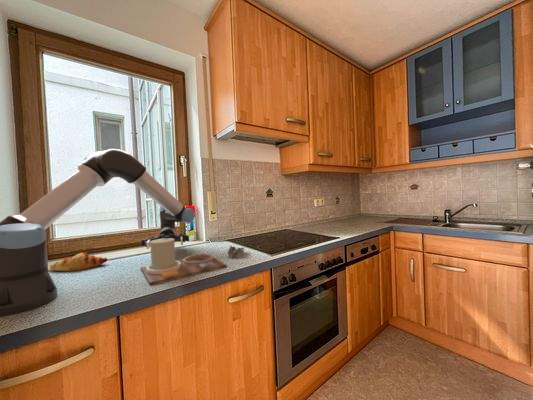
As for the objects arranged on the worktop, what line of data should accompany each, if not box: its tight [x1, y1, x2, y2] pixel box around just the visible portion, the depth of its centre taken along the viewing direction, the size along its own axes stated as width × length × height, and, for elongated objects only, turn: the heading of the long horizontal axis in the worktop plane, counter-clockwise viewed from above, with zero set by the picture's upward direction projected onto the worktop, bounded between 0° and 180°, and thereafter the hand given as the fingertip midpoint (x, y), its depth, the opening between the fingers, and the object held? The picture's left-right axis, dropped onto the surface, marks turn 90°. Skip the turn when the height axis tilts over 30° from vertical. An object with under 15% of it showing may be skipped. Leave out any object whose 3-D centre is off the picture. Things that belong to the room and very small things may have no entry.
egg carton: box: [226, 245, 245, 259], centre depth 114 cm, size 11×8×4 cm
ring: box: [146, 259, 181, 278], centre depth 92 cm, size 13×18×2 cm
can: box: [149, 238, 176, 270], centre depth 94 cm, size 9×9×12 cm
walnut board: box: [140, 253, 227, 286], centre depth 97 cm, size 29×21×2 cm
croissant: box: [49, 252, 108, 272], centre depth 102 cm, size 21×10×8 cm, turn 109°
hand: (165, 244), depth 100 cm, fingers open, 13 cm apart
